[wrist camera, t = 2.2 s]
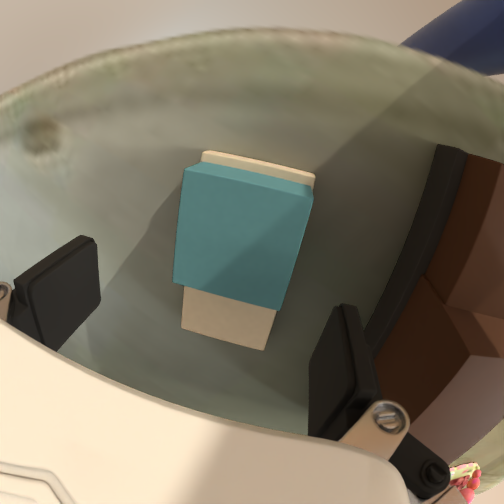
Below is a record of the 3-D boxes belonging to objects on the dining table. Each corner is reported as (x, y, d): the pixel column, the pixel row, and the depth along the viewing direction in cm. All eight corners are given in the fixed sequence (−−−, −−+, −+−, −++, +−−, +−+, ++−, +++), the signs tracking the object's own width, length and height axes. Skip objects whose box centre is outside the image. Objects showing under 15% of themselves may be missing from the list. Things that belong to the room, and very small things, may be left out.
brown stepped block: (437, 143, 13) (545, 173, 5) (527, 195, 13) (612, 247, 4) (313, 413, 23) (309, 498, 15) (393, 420, 23) (404, 495, 15)
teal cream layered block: (208, 150, 15) (183, 157, 12) (314, 173, 15) (319, 187, 12) (186, 318, 21) (167, 352, 17) (265, 340, 20) (258, 379, 17)
